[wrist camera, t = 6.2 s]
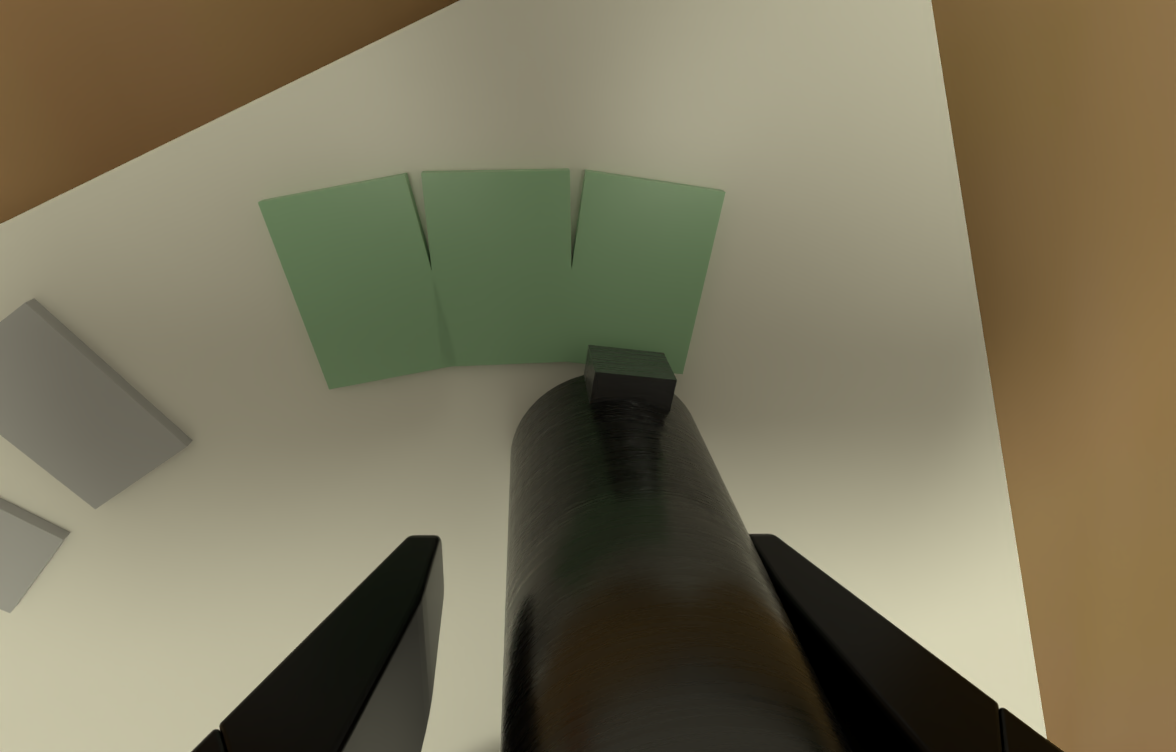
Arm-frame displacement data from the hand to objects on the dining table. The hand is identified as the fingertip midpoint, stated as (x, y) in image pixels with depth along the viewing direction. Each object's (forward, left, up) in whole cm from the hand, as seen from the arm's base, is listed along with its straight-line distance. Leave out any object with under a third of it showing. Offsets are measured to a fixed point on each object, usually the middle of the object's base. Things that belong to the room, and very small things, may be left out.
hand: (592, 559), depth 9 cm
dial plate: (-4, -6, -5) cm, 8 cm away
